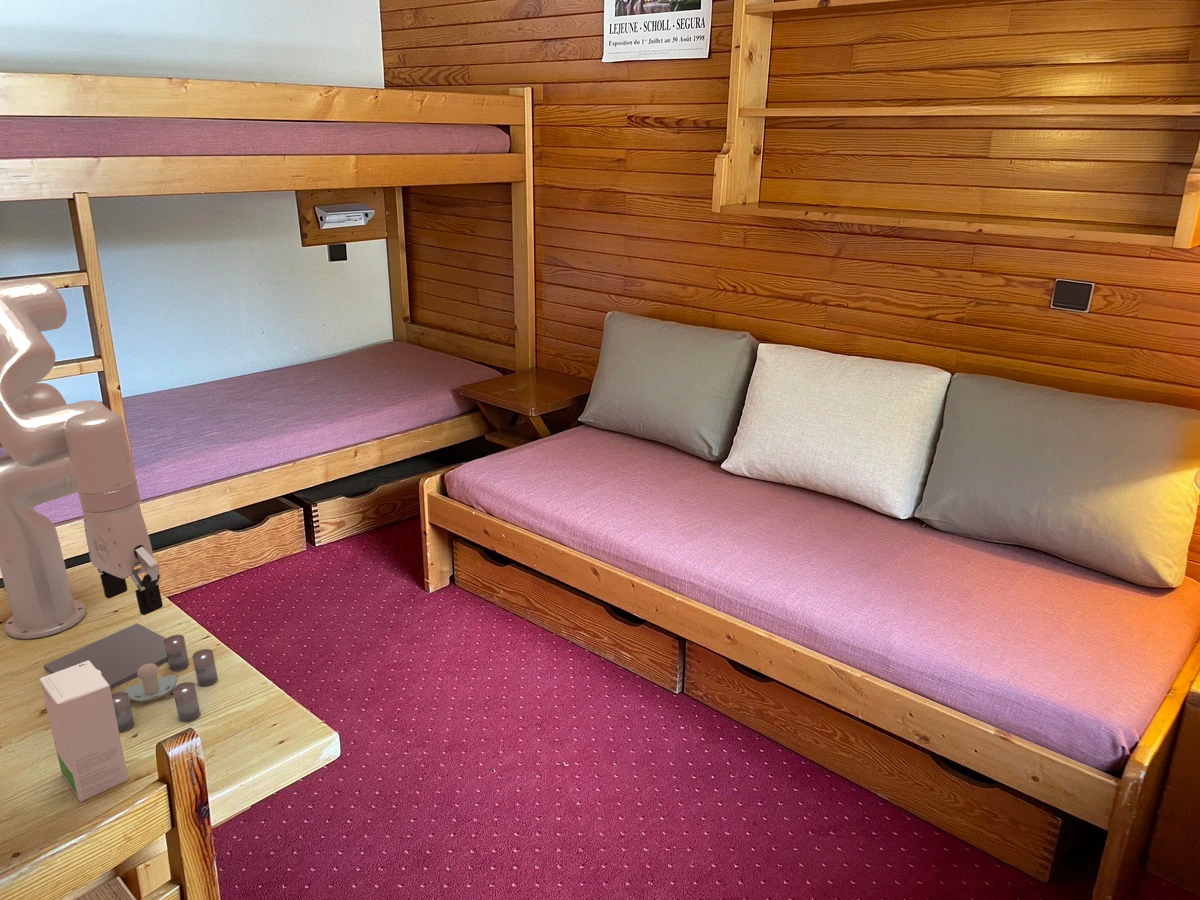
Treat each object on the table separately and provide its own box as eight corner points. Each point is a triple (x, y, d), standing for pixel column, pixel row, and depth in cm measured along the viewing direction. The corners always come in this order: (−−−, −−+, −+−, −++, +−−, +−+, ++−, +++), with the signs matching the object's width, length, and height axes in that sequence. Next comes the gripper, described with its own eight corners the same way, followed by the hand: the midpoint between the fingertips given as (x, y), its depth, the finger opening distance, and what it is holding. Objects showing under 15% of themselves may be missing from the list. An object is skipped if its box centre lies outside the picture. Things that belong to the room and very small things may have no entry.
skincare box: (61, 774, 125) (35, 677, 120) (112, 752, 129) (89, 657, 124) (80, 804, 119) (54, 704, 114) (133, 780, 124) (110, 682, 118)
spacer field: (80, 710, 139) (73, 682, 137) (182, 659, 152) (177, 632, 150) (141, 750, 130) (134, 720, 128) (244, 691, 143) (239, 664, 141)
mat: (44, 669, 150) (43, 665, 150) (137, 627, 162) (136, 623, 162) (91, 699, 142) (90, 694, 141) (186, 652, 154) (185, 648, 154)
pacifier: (125, 693, 143) (129, 711, 139) (117, 658, 142) (120, 675, 137) (175, 678, 147) (181, 696, 142) (168, 644, 145) (173, 661, 140)
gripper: (53, 494, 133) (79, 598, 139) (116, 517, 123) (141, 628, 129) (104, 478, 139) (127, 579, 144) (168, 499, 129) (190, 606, 135)
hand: (134, 602), depth 137 cm, fingers open, 9 cm apart
